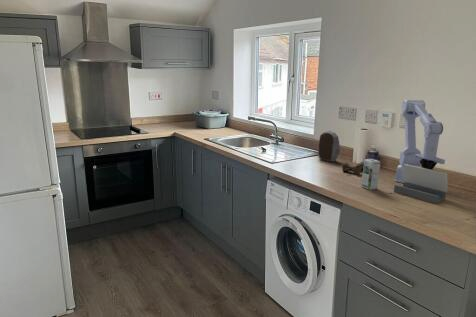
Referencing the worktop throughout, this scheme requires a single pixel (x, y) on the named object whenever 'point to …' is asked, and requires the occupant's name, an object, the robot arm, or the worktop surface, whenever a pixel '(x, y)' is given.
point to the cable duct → (420, 192)
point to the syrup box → (370, 174)
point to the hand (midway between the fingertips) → (426, 175)
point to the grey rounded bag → (328, 146)
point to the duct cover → (425, 177)
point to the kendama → (353, 167)
